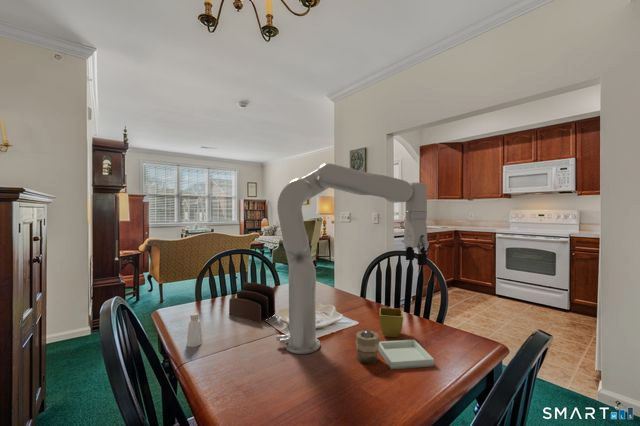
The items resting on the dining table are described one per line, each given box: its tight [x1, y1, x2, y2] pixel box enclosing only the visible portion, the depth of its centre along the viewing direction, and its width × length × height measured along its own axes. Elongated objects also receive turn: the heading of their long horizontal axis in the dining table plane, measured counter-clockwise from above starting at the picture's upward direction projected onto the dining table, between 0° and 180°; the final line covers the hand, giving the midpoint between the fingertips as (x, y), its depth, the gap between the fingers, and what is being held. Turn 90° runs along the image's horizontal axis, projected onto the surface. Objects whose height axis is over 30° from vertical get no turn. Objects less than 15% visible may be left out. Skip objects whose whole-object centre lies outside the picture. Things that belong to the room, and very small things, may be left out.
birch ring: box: [355, 329, 380, 352], centre depth 98 cm, size 7×7×4 cm
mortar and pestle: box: [356, 329, 379, 365], centre depth 98 cm, size 7×7×9 cm
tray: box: [378, 339, 435, 370], centre depth 100 cm, size 14×14×2 cm
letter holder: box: [228, 282, 276, 324], centre depth 137 cm, size 10×20×14 cm, turn 58°
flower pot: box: [379, 307, 404, 338], centre depth 117 cm, size 9×9×9 cm
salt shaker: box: [186, 312, 203, 348], centre depth 109 cm, size 5×5×11 cm
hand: (415, 262), depth 111 cm, fingers open, 9 cm apart
